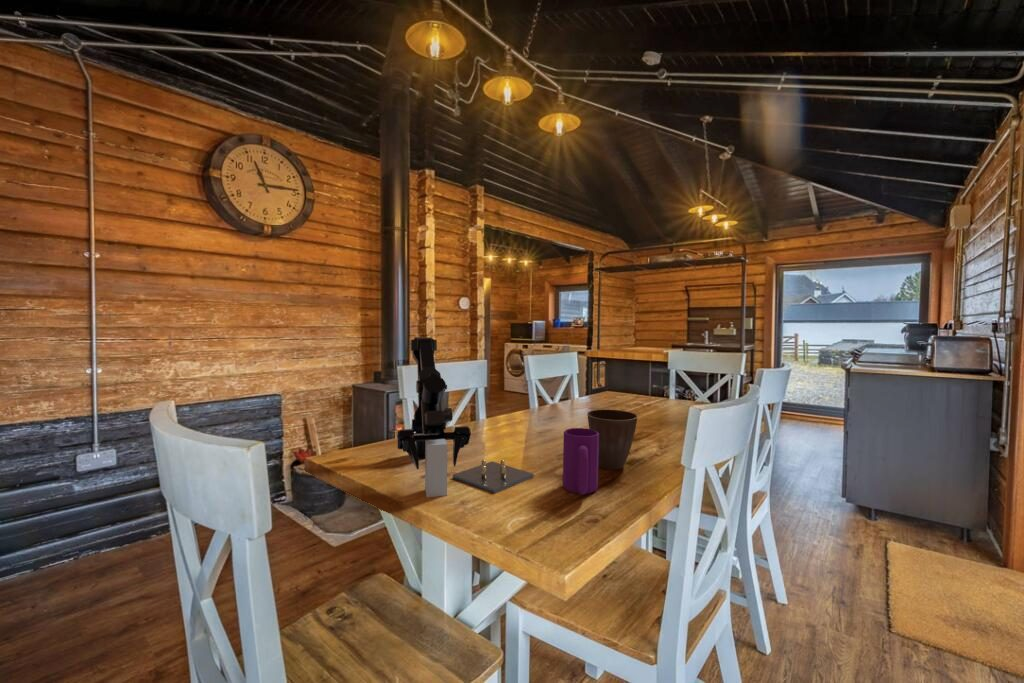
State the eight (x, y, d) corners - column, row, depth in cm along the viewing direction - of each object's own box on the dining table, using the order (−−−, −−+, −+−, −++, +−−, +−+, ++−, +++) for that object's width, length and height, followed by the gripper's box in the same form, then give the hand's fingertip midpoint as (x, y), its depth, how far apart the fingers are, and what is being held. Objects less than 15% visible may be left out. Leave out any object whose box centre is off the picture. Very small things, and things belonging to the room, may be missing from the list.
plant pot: (634, 477, 124) (635, 421, 123) (582, 470, 129) (583, 417, 128) (637, 461, 138) (639, 411, 137) (590, 456, 143) (591, 408, 142)
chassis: (452, 478, 121) (452, 463, 121) (492, 464, 133) (492, 450, 133) (494, 493, 111) (494, 477, 110) (533, 477, 123) (533, 462, 123)
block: (425, 489, 112) (425, 440, 112) (444, 488, 114) (444, 438, 113) (426, 497, 108) (427, 445, 107) (447, 495, 109) (447, 444, 108)
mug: (595, 482, 119) (596, 428, 119) (603, 506, 104) (604, 444, 103) (562, 481, 120) (563, 427, 119) (564, 504, 105) (565, 442, 104)
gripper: (397, 398, 111) (398, 453, 101) (469, 396, 116) (477, 448, 106) (397, 422, 119) (397, 475, 109) (464, 419, 124) (471, 469, 114)
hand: (436, 467), depth 109 cm, fingers open, 9 cm apart
